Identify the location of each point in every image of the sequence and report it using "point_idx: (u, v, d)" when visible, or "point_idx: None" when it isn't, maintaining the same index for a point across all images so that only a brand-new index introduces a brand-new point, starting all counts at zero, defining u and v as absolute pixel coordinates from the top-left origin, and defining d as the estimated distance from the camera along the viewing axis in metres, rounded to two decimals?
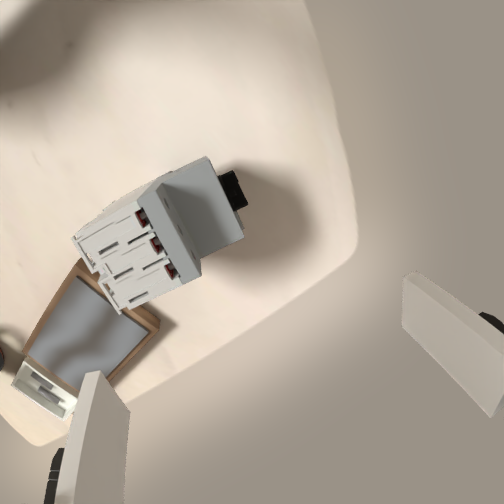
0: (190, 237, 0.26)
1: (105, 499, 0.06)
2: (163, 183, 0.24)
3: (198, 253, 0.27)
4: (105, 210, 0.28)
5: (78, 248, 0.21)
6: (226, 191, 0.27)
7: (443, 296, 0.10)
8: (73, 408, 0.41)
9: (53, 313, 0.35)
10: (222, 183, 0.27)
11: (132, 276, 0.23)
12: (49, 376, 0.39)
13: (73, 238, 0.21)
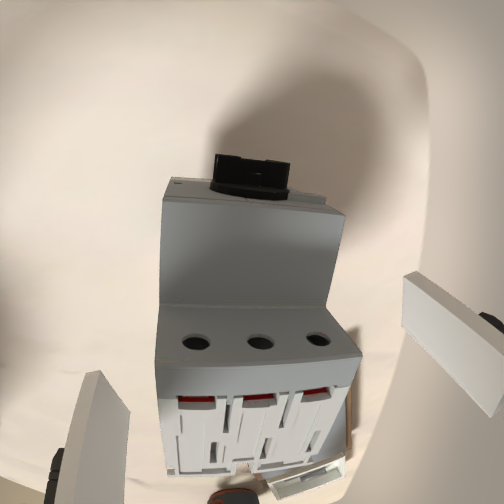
0: (283, 305, 0.14)
1: (105, 499, 0.06)
2: (162, 302, 0.12)
3: (316, 306, 0.14)
4: None
5: (188, 476, 0.12)
6: (245, 192, 0.13)
7: (443, 296, 0.10)
8: (343, 465, 0.37)
9: None
10: (226, 189, 0.13)
11: (279, 440, 0.12)
12: (299, 469, 0.36)
13: (170, 475, 0.11)
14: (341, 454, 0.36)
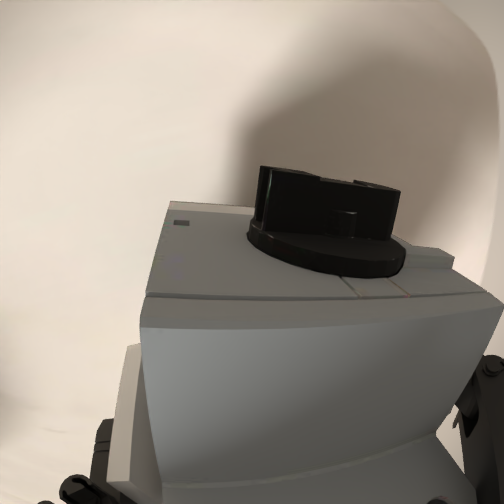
0: (381, 452, 0.06)
1: (154, 466, 0.08)
2: (167, 482, 0.05)
3: (424, 438, 0.06)
4: None
5: None
6: (339, 263, 0.06)
7: None
8: None
9: None
10: (295, 254, 0.06)
11: None
12: None
13: None
14: None
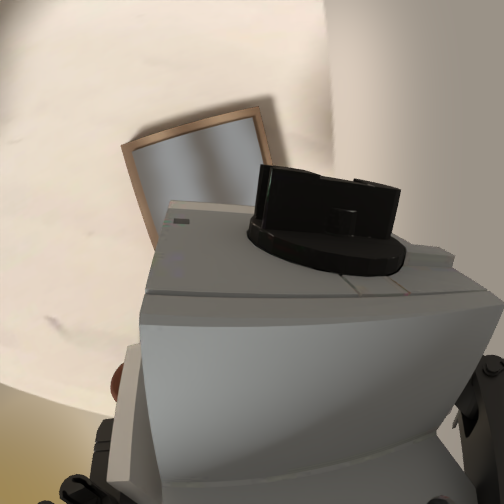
0: (381, 451, 0.06)
1: (154, 466, 0.08)
2: (167, 481, 0.05)
3: (425, 437, 0.06)
4: None
5: None
6: (339, 261, 0.06)
7: None
8: None
9: (155, 220, 0.29)
10: (295, 252, 0.06)
11: None
12: None
13: None
14: None
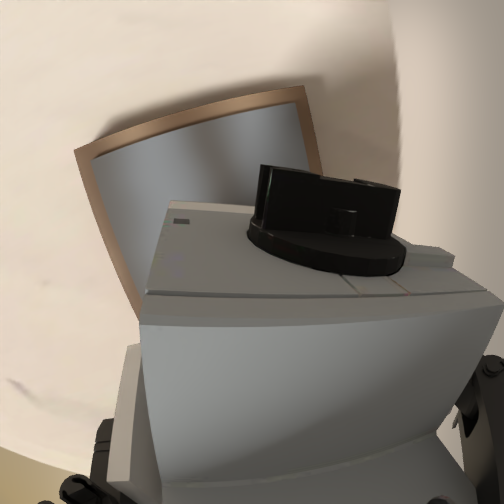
0: (381, 452, 0.06)
1: (154, 466, 0.08)
2: (167, 481, 0.05)
3: (425, 437, 0.06)
4: None
5: None
6: (340, 261, 0.06)
7: None
8: None
9: (134, 273, 0.18)
10: (295, 252, 0.06)
11: None
12: None
13: None
14: None
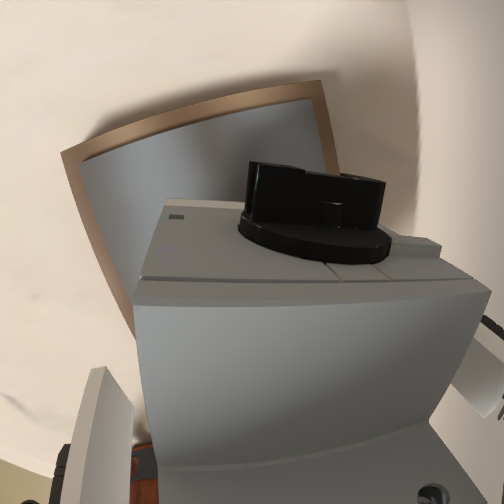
0: (373, 438, 0.06)
1: (111, 494, 0.07)
2: (162, 464, 0.05)
3: (417, 425, 0.07)
4: None
5: None
6: (323, 250, 0.06)
7: None
8: None
9: (129, 291, 0.16)
10: (281, 242, 0.06)
11: None
12: None
13: None
14: None
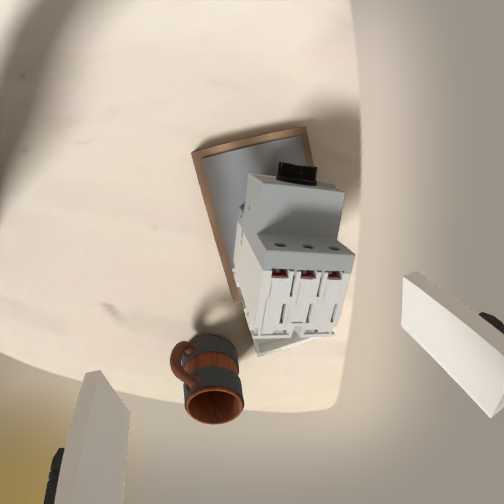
0: (315, 237, 0.27)
1: (105, 499, 0.06)
2: (258, 232, 0.26)
3: (332, 238, 0.27)
4: (241, 287, 0.32)
5: (265, 337, 0.25)
6: (296, 181, 0.27)
7: (443, 296, 0.10)
8: None
9: (219, 217, 0.36)
10: (287, 180, 0.27)
11: (316, 308, 0.25)
12: None
13: (254, 336, 0.25)
14: None
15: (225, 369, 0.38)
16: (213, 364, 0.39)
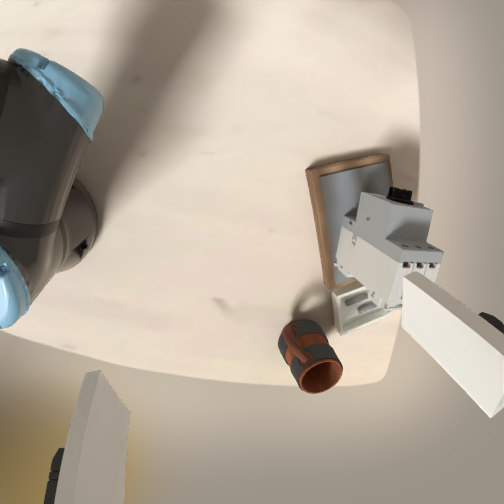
0: (415, 240, 0.36)
1: (105, 499, 0.06)
2: (385, 237, 0.35)
3: (423, 241, 0.37)
4: (358, 277, 0.41)
5: (391, 309, 0.34)
6: (404, 202, 0.36)
7: (443, 296, 0.10)
8: None
9: (329, 223, 0.45)
10: (398, 200, 0.36)
11: None
12: (360, 285, 0.52)
13: (385, 309, 0.34)
14: None
15: (327, 345, 0.48)
16: (317, 342, 0.48)
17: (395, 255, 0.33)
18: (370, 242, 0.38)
